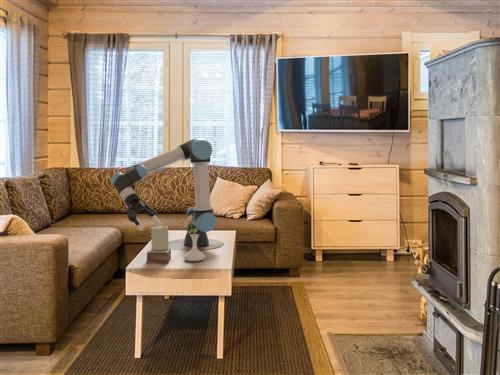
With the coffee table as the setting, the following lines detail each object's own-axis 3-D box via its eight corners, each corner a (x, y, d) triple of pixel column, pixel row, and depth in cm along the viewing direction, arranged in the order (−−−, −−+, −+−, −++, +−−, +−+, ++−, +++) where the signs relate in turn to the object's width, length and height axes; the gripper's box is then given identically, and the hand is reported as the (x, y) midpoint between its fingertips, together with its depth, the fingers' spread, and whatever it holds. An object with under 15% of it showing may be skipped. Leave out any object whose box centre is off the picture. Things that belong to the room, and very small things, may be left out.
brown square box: (150, 259, 269) (150, 247, 269) (170, 259, 270) (170, 247, 269) (146, 264, 258) (146, 251, 258) (168, 264, 259) (168, 252, 258)
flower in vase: (194, 256, 274) (194, 211, 272) (209, 260, 267) (210, 214, 265) (177, 261, 264) (177, 214, 262) (192, 264, 257) (192, 216, 255)
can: (163, 250, 259) (162, 227, 258) (147, 249, 262) (147, 227, 261) (172, 247, 267) (171, 225, 266) (157, 246, 271) (156, 224, 270)
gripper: (142, 199, 283) (163, 228, 277) (109, 204, 261) (131, 235, 255) (149, 190, 280) (170, 219, 274) (116, 194, 258) (138, 226, 252)
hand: (151, 227), depth 264 cm, fingers open, 13 cm apart
